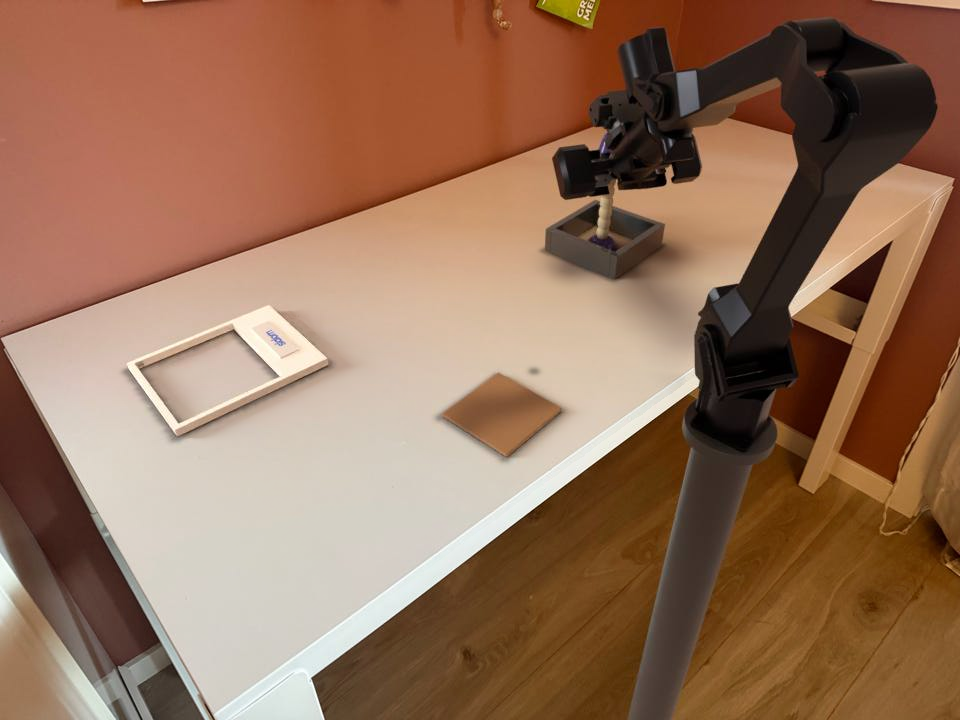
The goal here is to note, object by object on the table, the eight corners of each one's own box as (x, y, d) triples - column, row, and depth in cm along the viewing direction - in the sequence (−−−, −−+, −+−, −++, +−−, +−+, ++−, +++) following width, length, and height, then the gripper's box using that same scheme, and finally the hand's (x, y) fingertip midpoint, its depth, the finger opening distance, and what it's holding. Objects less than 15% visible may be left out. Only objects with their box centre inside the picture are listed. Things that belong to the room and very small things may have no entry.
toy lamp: (602, 236, 106) (613, 125, 95) (626, 248, 103) (640, 135, 92) (579, 247, 103) (587, 134, 93) (603, 260, 100) (614, 145, 90)
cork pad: (561, 411, 76) (561, 407, 76) (506, 457, 71) (506, 454, 71) (498, 375, 81) (498, 372, 81) (442, 416, 76) (442, 413, 76)
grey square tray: (661, 245, 103) (665, 223, 101) (614, 279, 96) (617, 256, 94) (593, 220, 110) (595, 199, 108) (544, 250, 103) (545, 228, 101)
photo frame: (327, 357, 82) (174, 428, 74) (328, 364, 83) (177, 436, 74) (268, 303, 91) (125, 361, 82) (270, 310, 92) (129, 369, 83)
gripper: (707, 67, 86) (653, 125, 101) (561, 83, 82) (528, 141, 98) (728, 154, 85) (671, 200, 100) (582, 175, 81) (545, 219, 97)
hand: (605, 188), depth 99 cm, fingers closed on toy lamp, 4 cm apart
